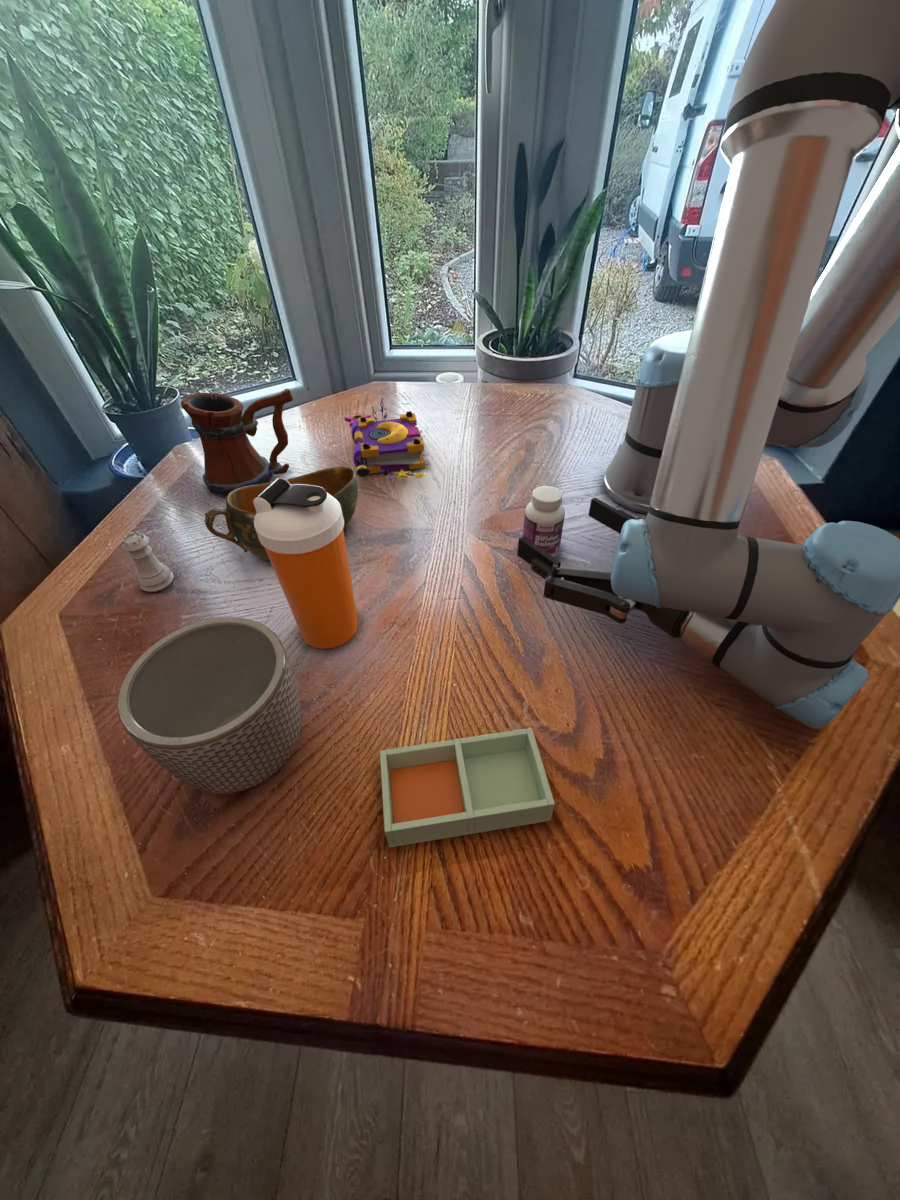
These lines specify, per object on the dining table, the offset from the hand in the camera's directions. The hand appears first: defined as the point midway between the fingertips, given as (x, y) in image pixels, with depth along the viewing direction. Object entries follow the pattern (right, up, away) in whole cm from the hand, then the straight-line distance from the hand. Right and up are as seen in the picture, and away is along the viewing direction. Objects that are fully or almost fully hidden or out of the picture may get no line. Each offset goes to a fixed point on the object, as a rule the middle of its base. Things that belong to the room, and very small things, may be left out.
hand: (557, 525), depth 69 cm
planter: (-35, -26, -16) cm, 46 cm away
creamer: (-37, -1, +9) cm, 38 cm away
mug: (-48, +12, +23) cm, 54 cm away
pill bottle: (-1, -3, +6) cm, 7 cm away
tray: (-13, -28, -20) cm, 37 cm away
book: (-26, +17, +27) cm, 41 cm away
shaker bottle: (-29, -14, -4) cm, 33 cm away
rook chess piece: (-55, -8, +3) cm, 56 cm away
